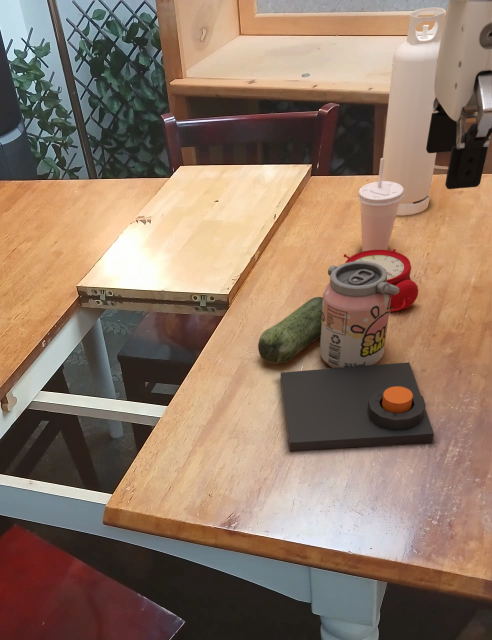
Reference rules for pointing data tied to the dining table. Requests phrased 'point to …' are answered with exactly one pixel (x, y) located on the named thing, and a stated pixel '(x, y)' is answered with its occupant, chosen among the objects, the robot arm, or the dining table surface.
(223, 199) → the dining table surface
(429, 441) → the grey button plate
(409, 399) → the button
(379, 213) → the smoothie
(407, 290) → the alarm clock
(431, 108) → the bottle
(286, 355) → the vegetable
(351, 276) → the beverage can
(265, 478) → the dining table surface
